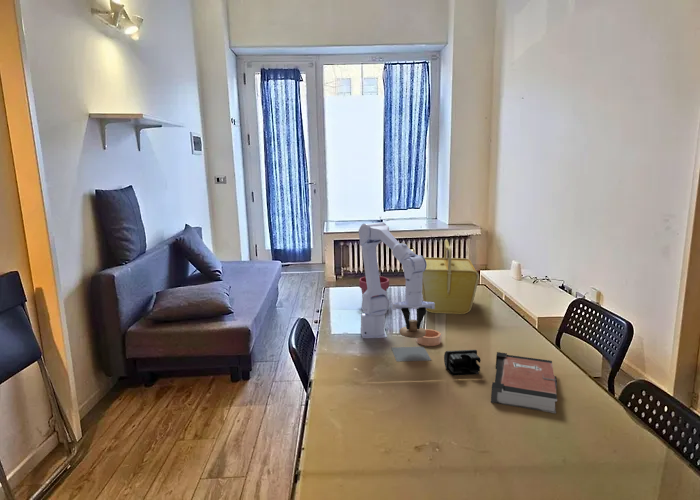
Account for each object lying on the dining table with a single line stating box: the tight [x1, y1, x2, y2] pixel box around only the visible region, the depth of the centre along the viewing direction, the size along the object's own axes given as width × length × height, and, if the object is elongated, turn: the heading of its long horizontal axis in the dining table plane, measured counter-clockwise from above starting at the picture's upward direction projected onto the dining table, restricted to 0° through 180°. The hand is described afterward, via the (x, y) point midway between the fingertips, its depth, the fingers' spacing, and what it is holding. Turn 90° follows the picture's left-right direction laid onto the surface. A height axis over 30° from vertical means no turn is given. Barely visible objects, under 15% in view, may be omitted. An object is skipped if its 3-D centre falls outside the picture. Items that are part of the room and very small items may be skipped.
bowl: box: [415, 328, 442, 347], centre depth 172 cm, size 9×9×4 cm
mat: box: [390, 346, 432, 362], centre depth 160 cm, size 12×12×1 cm
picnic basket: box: [422, 239, 480, 315], centre depth 215 cm, size 29×26×30 cm
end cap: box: [443, 349, 481, 377], centre depth 147 cm, size 10×7×7 cm
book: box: [490, 351, 558, 414], centre depth 137 cm, size 26×18×5 cm
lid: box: [399, 319, 426, 339], centre depth 160 cm, size 9×9×4 cm
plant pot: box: [358, 275, 390, 297], centre depth 217 cm, size 14×14×13 cm
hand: (412, 328), depth 160 cm, fingers closed on lid, 3 cm apart
